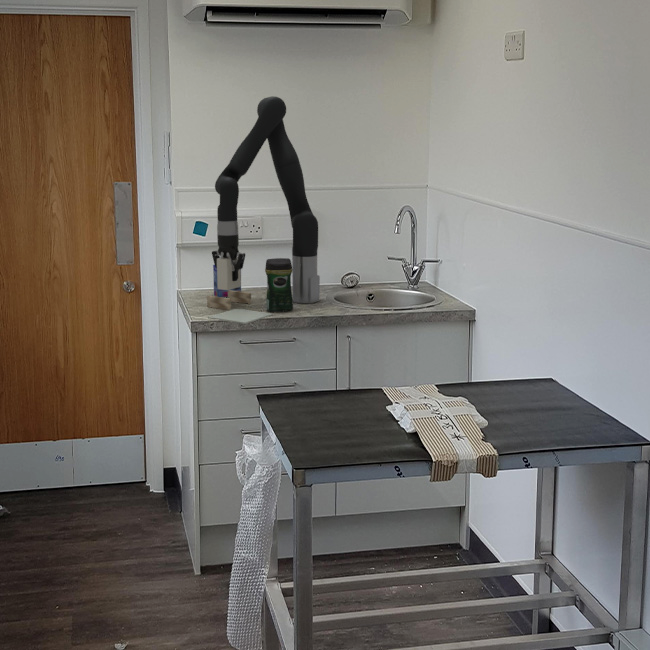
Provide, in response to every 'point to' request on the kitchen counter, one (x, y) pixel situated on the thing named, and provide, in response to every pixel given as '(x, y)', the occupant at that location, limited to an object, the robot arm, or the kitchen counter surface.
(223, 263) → the block
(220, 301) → the divider rack
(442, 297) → the kitchen counter surface
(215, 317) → the sage mat
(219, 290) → the ink cartridge box
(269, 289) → the coffee jar
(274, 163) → the robot arm
